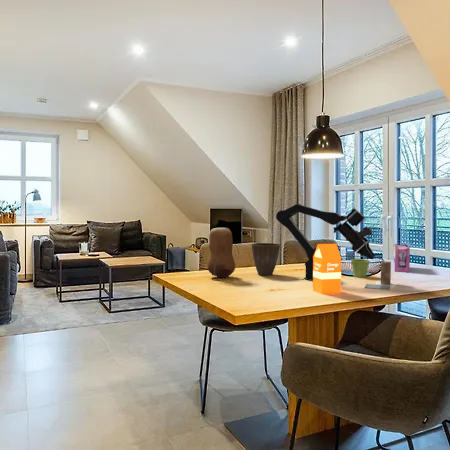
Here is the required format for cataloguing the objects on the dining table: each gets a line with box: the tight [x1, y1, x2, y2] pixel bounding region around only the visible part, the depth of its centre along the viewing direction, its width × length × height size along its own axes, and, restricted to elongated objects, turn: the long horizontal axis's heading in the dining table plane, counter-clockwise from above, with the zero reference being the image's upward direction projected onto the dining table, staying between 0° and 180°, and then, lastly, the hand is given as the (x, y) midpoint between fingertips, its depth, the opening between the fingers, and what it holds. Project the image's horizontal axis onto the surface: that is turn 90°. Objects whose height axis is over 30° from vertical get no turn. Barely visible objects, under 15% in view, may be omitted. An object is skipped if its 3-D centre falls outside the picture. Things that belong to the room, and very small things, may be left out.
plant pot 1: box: [251, 242, 281, 277], centre depth 229 cm, size 15×15×16 cm
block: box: [380, 260, 392, 285], centre depth 201 cm, size 4×5×10 cm
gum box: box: [392, 243, 411, 273], centre depth 252 cm, size 24×8×14 cm, turn 161°
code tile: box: [374, 281, 397, 287], centre depth 201 cm, size 9×9×1 cm
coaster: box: [364, 283, 391, 291], centre depth 192 cm, size 10×10×1 cm
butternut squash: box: [207, 227, 236, 279], centre depth 219 cm, size 14×13×25 cm
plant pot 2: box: [350, 258, 371, 279], centre depth 222 cm, size 9×9×9 cm
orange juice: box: [312, 243, 342, 295], centre depth 183 cm, size 8×9×20 cm
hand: (373, 257), depth 203 cm, fingers open, 9 cm apart
